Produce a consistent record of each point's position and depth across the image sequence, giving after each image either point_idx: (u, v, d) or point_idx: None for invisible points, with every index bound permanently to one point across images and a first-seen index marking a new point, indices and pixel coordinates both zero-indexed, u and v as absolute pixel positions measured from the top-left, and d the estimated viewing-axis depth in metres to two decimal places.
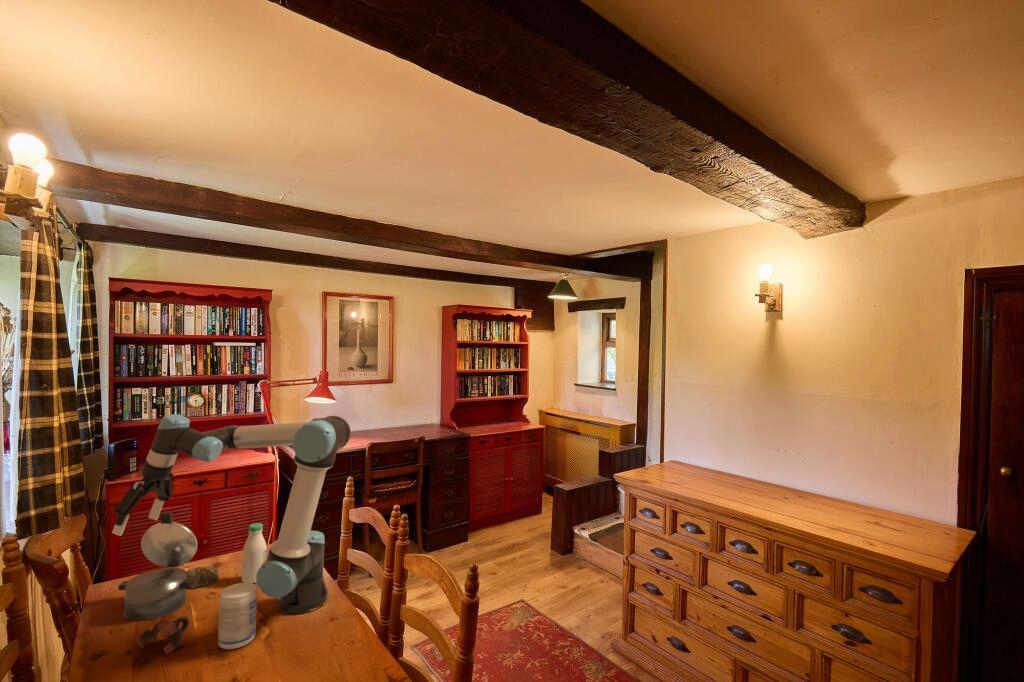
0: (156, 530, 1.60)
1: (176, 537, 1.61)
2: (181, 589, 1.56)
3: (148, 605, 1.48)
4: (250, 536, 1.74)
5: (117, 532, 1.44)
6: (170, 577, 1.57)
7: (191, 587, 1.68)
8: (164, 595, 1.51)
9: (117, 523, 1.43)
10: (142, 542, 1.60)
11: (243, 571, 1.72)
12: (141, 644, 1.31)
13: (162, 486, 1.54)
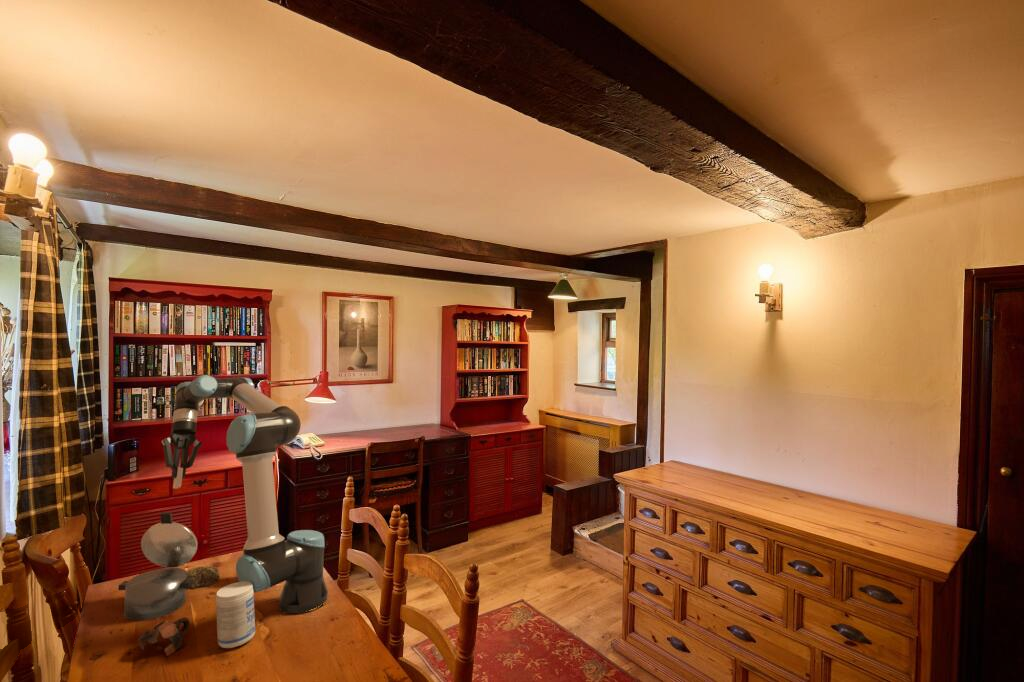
0: (156, 530, 1.60)
1: (176, 537, 1.61)
2: (181, 589, 1.56)
3: (148, 605, 1.48)
4: None
5: (175, 485, 1.66)
6: (170, 577, 1.57)
7: (192, 587, 1.68)
8: (164, 595, 1.51)
9: (172, 475, 1.66)
10: (142, 542, 1.60)
11: None
12: (142, 646, 1.30)
13: (188, 445, 1.73)
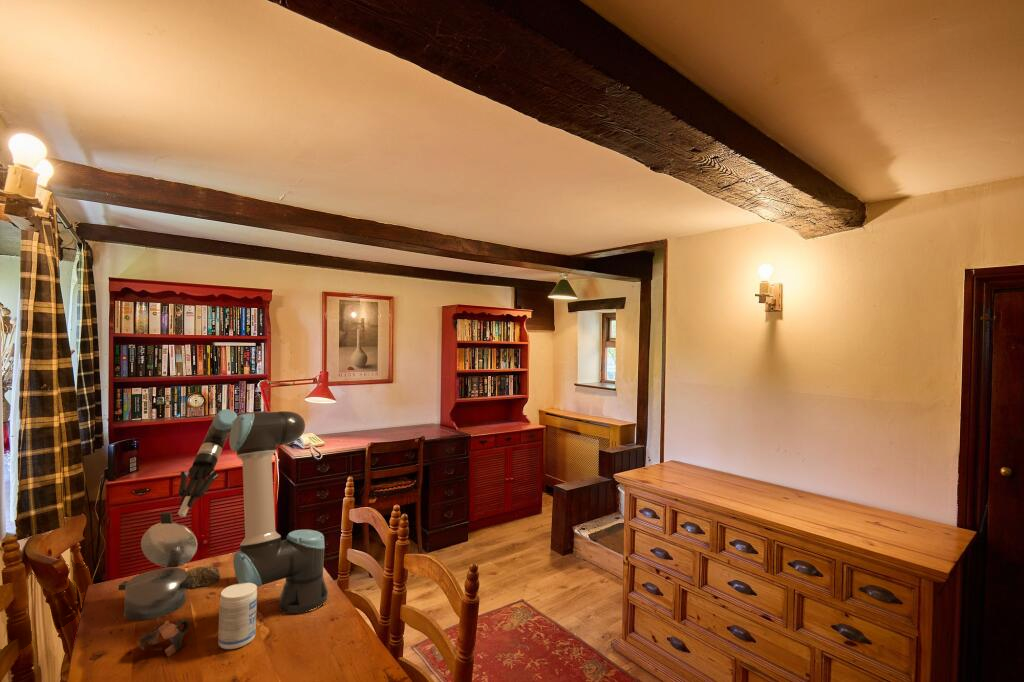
0: (156, 530, 1.60)
1: (176, 537, 1.61)
2: (181, 589, 1.56)
3: (148, 605, 1.48)
4: None
5: None
6: (170, 577, 1.57)
7: (192, 587, 1.68)
8: (164, 595, 1.51)
9: None
10: (142, 542, 1.60)
11: None
12: (142, 647, 1.30)
13: (200, 475, 1.79)
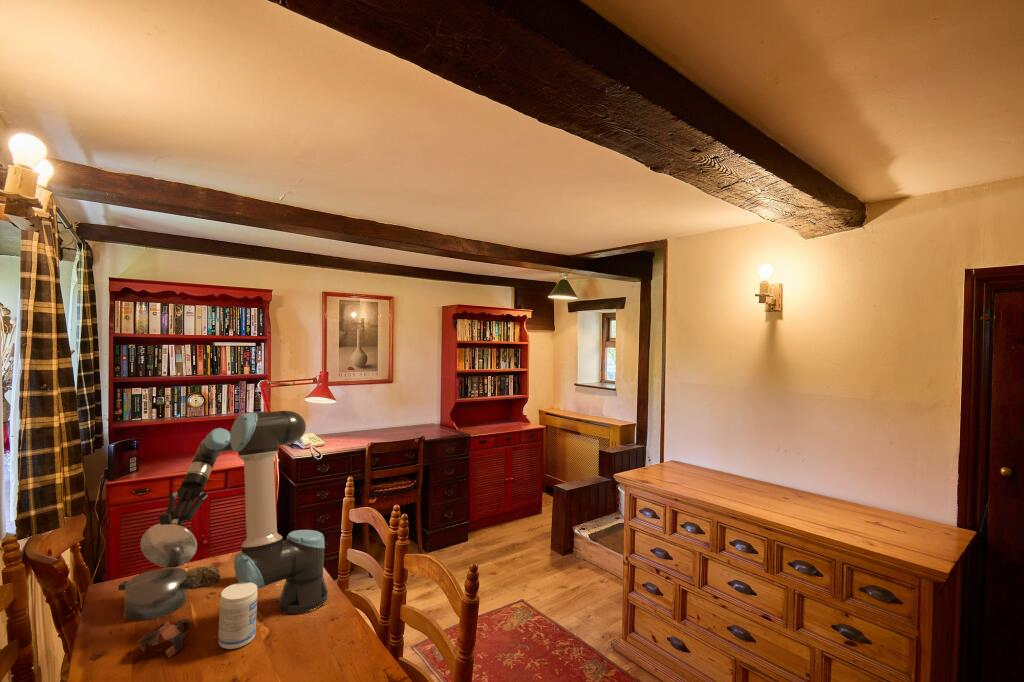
0: (156, 531, 1.60)
1: (175, 538, 1.61)
2: (181, 589, 1.56)
3: (148, 605, 1.48)
4: None
5: None
6: (170, 577, 1.57)
7: (193, 587, 1.68)
8: (164, 595, 1.51)
9: None
10: (141, 543, 1.60)
11: None
12: (142, 648, 1.30)
13: (189, 496, 1.73)
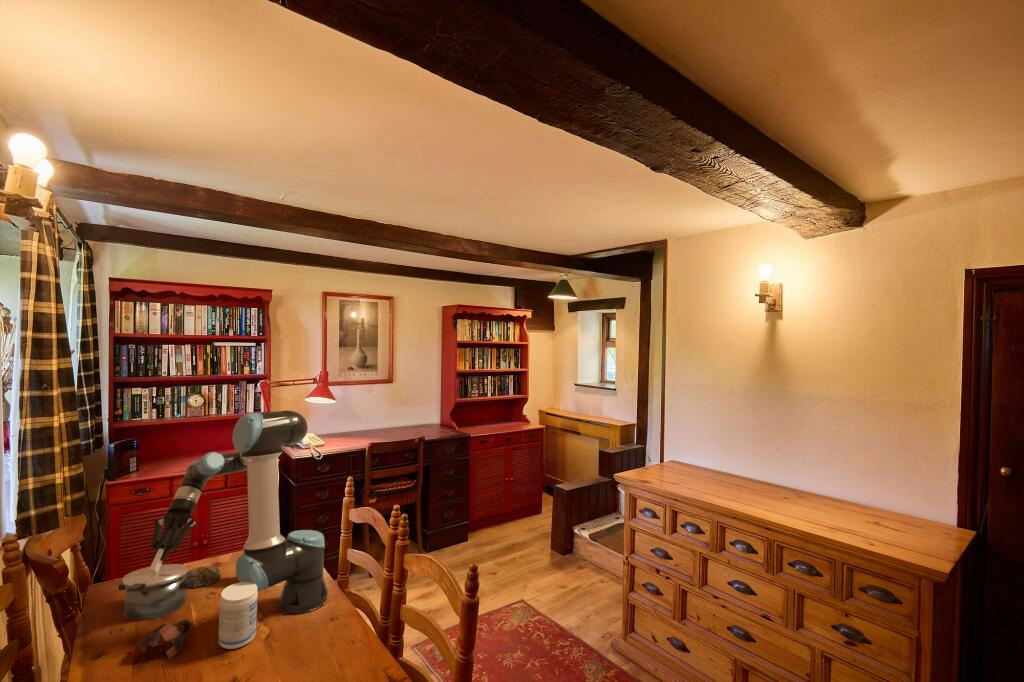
0: None
1: None
2: (181, 589, 1.56)
3: (148, 605, 1.48)
4: None
5: None
6: None
7: (193, 587, 1.68)
8: (164, 595, 1.51)
9: None
10: None
11: None
12: (143, 649, 1.29)
13: (176, 524, 1.64)
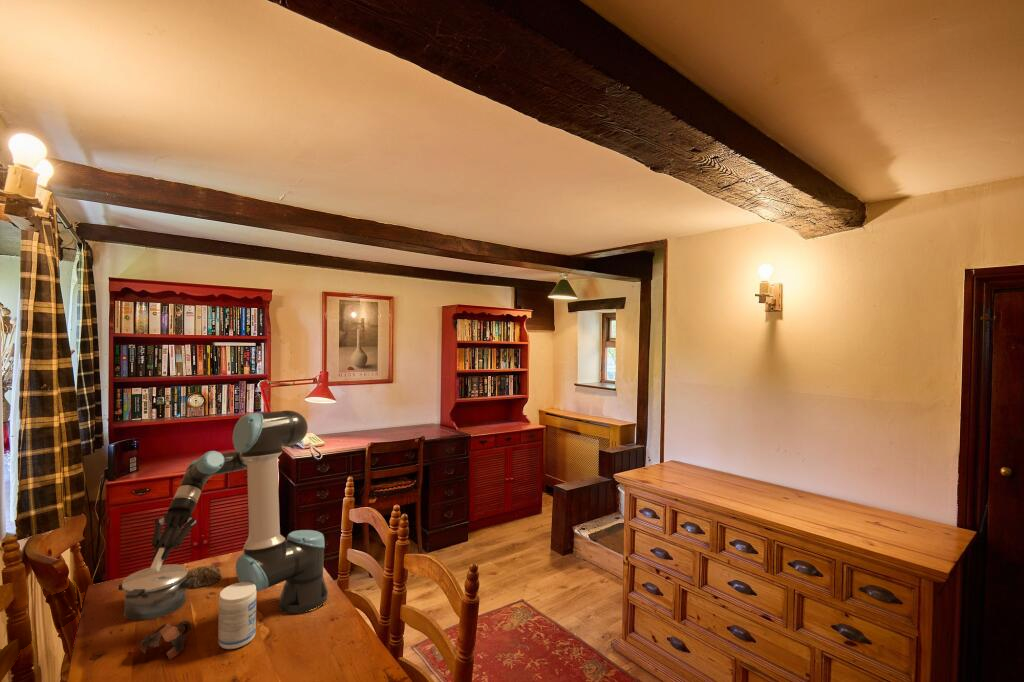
0: None
1: None
2: (181, 589, 1.56)
3: (148, 605, 1.48)
4: None
5: None
6: None
7: (194, 586, 1.68)
8: (164, 595, 1.51)
9: None
10: None
11: None
12: (143, 649, 1.29)
13: (176, 523, 1.64)
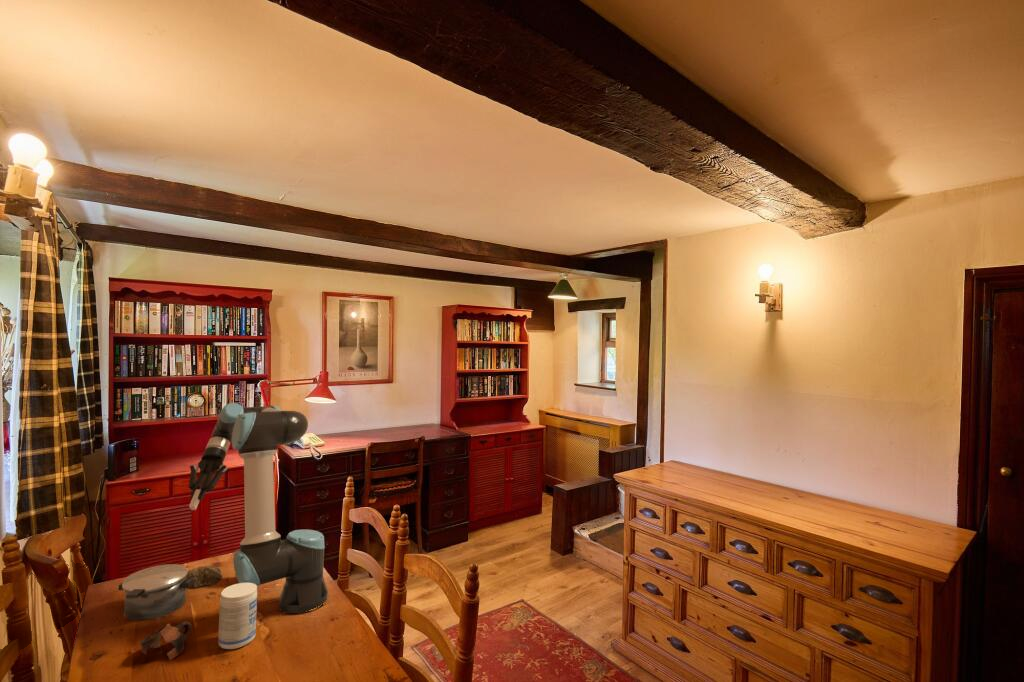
0: None
1: None
2: (181, 589, 1.56)
3: (148, 605, 1.48)
4: None
5: None
6: None
7: (194, 586, 1.68)
8: (164, 595, 1.51)
9: None
10: None
11: None
12: (144, 650, 1.28)
13: (210, 468, 1.81)
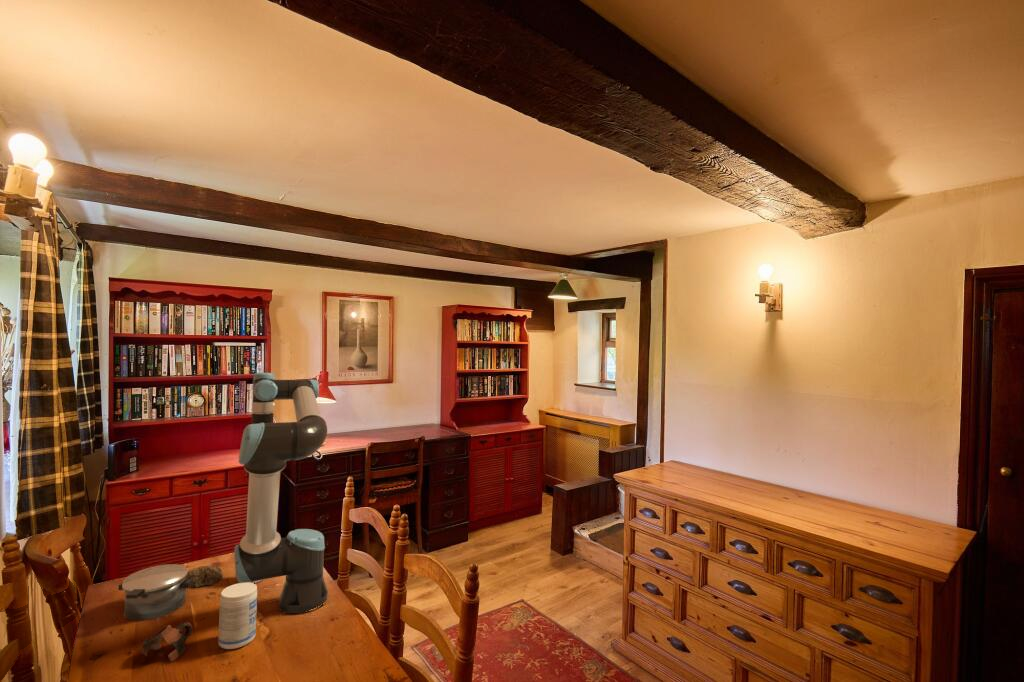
0: None
1: None
2: (181, 589, 1.56)
3: (148, 605, 1.48)
4: None
5: None
6: None
7: (195, 586, 1.68)
8: (164, 595, 1.51)
9: None
10: None
11: None
12: (145, 652, 1.28)
13: None
